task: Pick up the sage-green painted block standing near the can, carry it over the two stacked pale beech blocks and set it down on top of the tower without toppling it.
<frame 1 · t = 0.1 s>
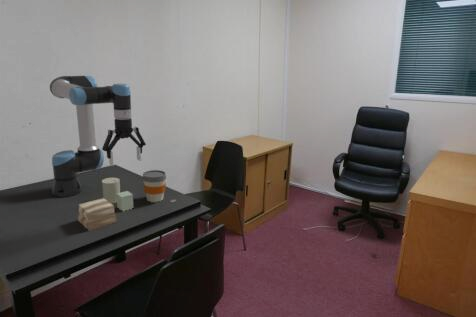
hand: (125, 162, 165), 28 cm above the table, fingers open, 13 cm apart
can: (112, 200, 190), on the table
reusable coffee cup: (155, 199, 194), on the table
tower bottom: (97, 222, 166), on the table, touching tower top
tower top: (96, 213, 165), point 4 cm above the table, touching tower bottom
green block: (125, 208, 181), on the table
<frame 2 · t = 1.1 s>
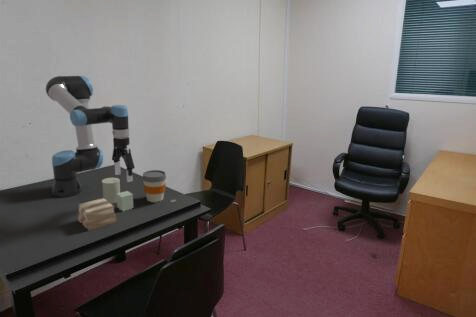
hand: (123, 177, 176), 17 cm above the table, fingers open, 13 cm apart
nothing on the table moved.
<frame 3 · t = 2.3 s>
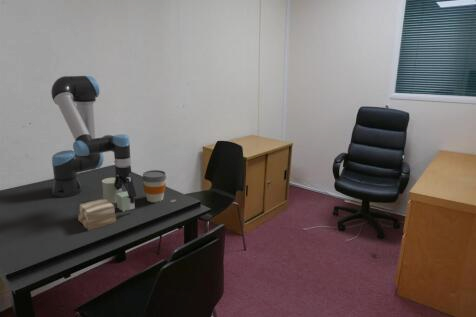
hand: (125, 204, 180), 2 cm above the table, fingers open, 13 cm apart
nothing on the table moved.
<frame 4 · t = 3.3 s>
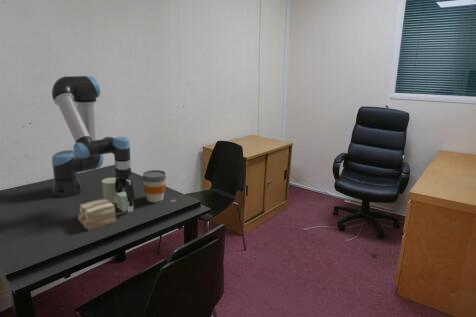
hand: (125, 207, 181), 0 cm above the table, fingers open, 11 cm apart
nothing on the table moved.
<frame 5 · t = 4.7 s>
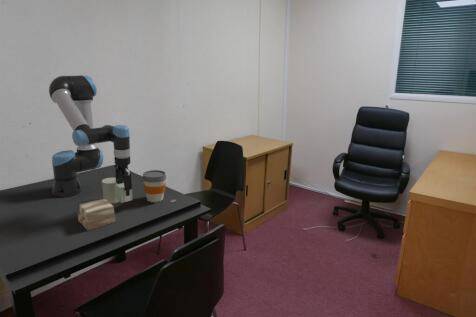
hand: (124, 198, 180), 5 cm above the table, fingers closed on green block, 6 cm apart
green block: (124, 199, 180), point 5 cm above the table, touching gripper
everything else where it was.
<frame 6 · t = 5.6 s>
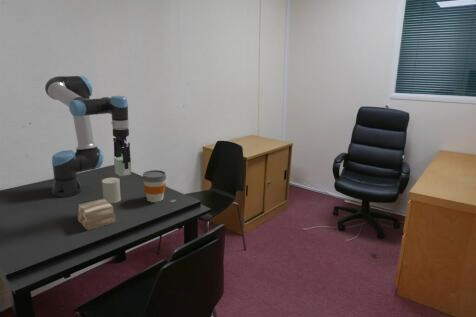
hand: (123, 172, 176), 19 cm above the table, fingers closed on green block, 6 cm apart
green block: (123, 173, 176), point 19 cm above the table, touching gripper
everything else where it was.
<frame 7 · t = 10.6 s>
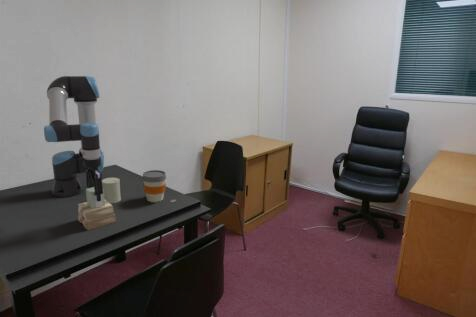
hand: (95, 204, 163), 9 cm above the table, fingers closed on green block, 6 cm apart
green block: (96, 205, 163), point 9 cm above the table, touching gripper
everything else where it was.
when the fingers open (9 cm above the table, at t = 10.7 s): green block moves 1 cm, point 9 cm above the table.
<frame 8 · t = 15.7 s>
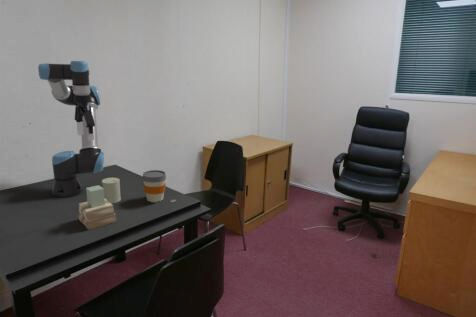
hand: (85, 137, 172), 37 cm above the table, fingers open, 13 cm apart
green block: (96, 204, 164), point 9 cm above the table
everything else where it was.
at the end: green block inside the target area on the tower top (0.1 cm from its centre), point 4.5 cm above the tower top's base; green block tilted 0°; tower top moved 1.1 cm from its start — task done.
